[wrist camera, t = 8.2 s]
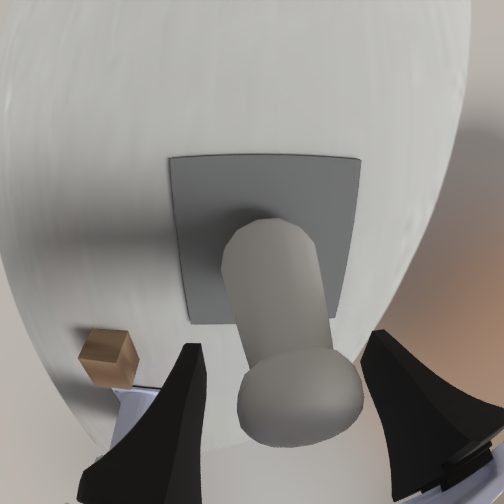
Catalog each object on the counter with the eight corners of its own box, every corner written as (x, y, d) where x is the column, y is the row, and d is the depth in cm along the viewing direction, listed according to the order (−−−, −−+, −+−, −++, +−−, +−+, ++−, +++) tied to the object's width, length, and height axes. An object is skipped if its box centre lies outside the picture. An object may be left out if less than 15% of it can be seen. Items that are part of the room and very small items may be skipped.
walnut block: (139, 358, 24) (131, 390, 21) (106, 355, 24) (95, 384, 20) (128, 330, 22) (116, 363, 19) (92, 327, 22) (77, 358, 19)
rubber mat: (333, 314, 22) (335, 317, 22) (191, 321, 22) (190, 324, 21) (358, 159, 16) (361, 160, 16) (171, 157, 16) (169, 158, 15)
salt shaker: (249, 294, 20) (264, 469, 9) (206, 233, 18) (172, 425, 6) (320, 259, 19) (398, 423, 8) (285, 190, 17) (381, 354, 5)
